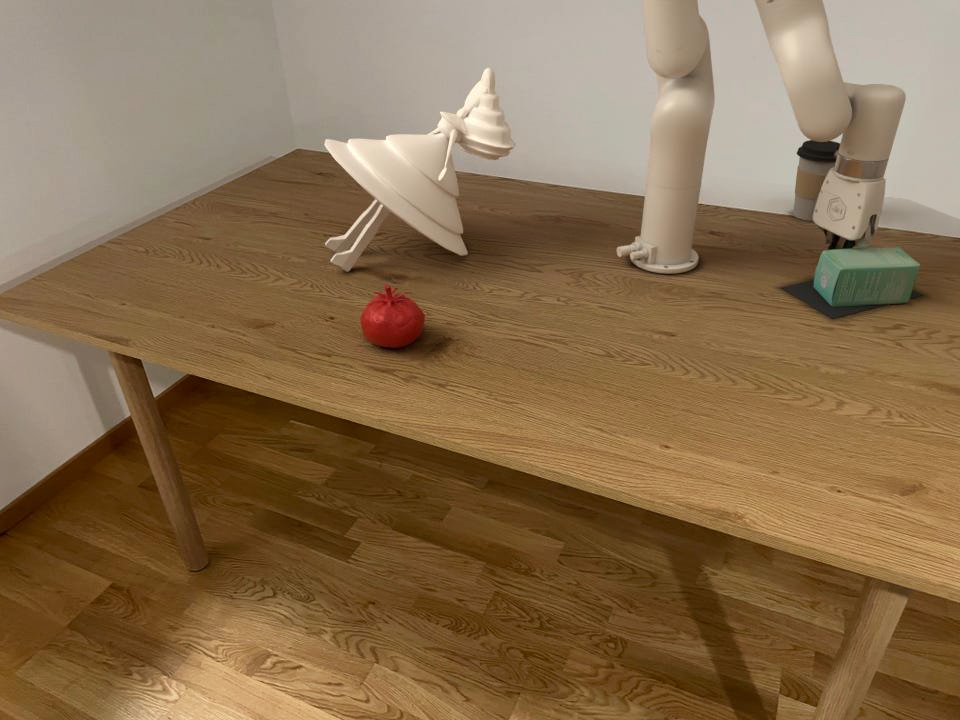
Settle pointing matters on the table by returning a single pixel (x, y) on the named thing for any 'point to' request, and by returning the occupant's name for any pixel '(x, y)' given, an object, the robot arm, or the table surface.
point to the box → (865, 276)
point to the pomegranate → (392, 319)
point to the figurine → (420, 173)
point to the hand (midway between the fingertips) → (833, 267)
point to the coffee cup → (812, 175)
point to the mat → (815, 300)
